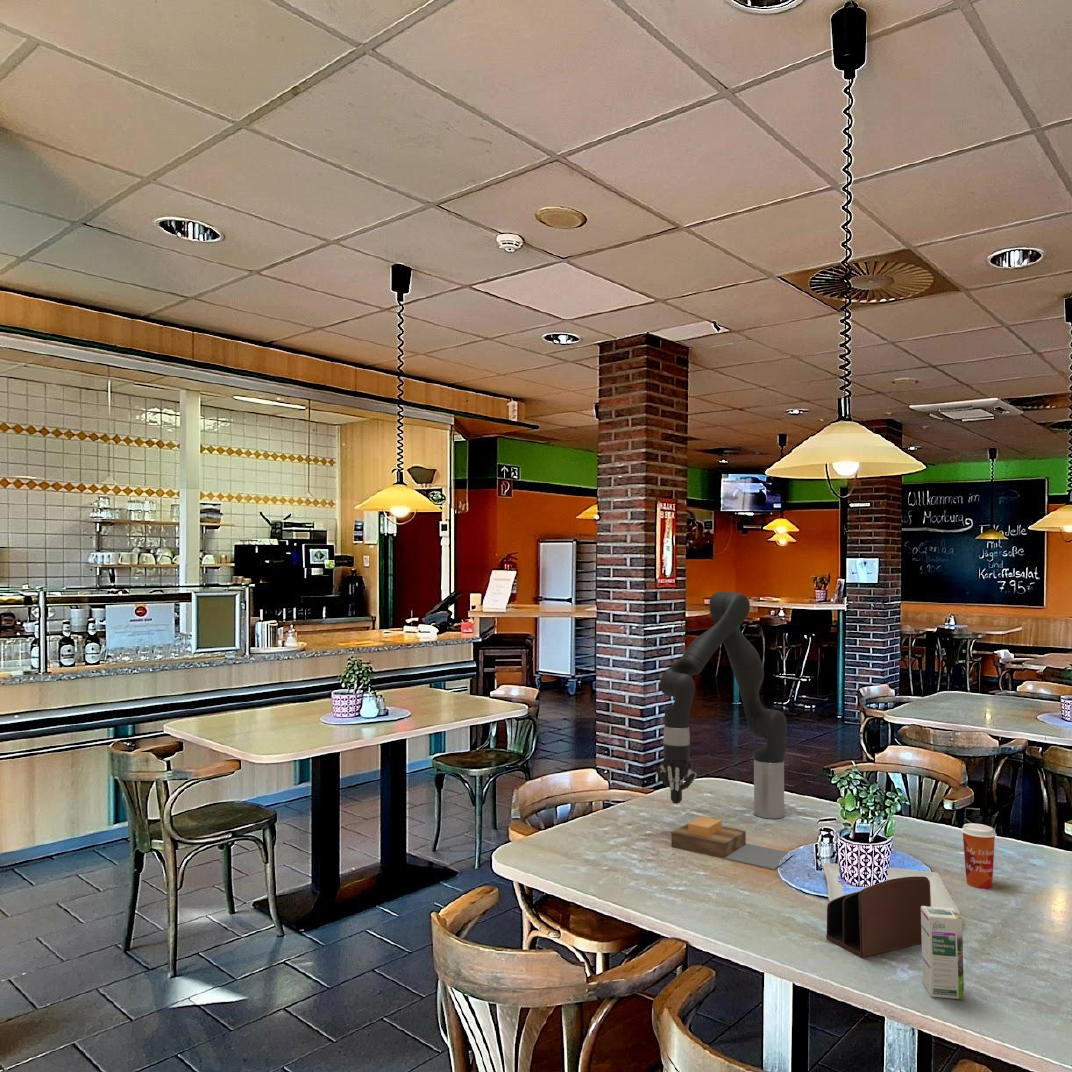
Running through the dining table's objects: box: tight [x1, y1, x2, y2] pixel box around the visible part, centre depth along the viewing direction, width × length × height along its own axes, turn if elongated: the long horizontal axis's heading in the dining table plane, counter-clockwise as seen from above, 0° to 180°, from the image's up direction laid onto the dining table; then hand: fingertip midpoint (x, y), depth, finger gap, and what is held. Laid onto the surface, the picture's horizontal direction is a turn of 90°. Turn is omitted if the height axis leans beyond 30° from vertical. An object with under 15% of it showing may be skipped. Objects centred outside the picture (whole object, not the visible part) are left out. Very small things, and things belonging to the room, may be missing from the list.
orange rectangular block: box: [687, 816, 723, 837], centre depth 238 cm, size 9×6×2 cm, turn 143°
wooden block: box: [670, 820, 747, 859], centre depth 237 cm, size 14×16×4 cm
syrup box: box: [921, 906, 965, 1001], centre depth 156 cm, size 6×6×14 cm
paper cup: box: [961, 822, 998, 890], centre depth 210 cm, size 8×8×14 cm
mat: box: [723, 843, 790, 871], centre depth 228 cm, size 15×14×1 cm
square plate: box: [822, 863, 961, 916], centre depth 200 cm, size 27×27×4 cm
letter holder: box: [825, 876, 931, 959], centre depth 178 cm, size 10×20×14 cm, turn 115°
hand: (676, 802), depth 244 cm, fingers closed
